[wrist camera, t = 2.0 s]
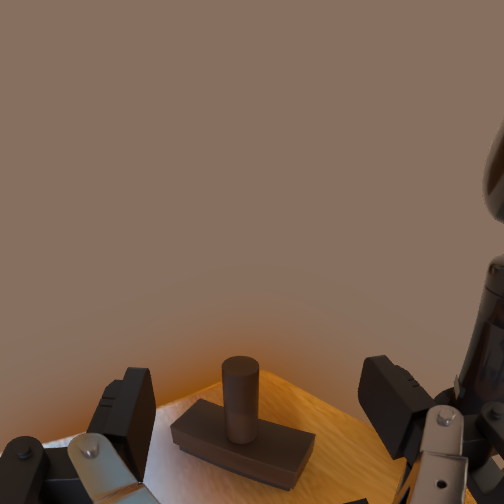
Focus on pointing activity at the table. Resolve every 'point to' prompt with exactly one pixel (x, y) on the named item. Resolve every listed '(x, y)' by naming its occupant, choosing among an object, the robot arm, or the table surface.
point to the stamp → (243, 432)
